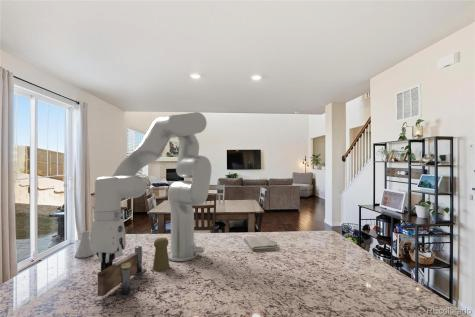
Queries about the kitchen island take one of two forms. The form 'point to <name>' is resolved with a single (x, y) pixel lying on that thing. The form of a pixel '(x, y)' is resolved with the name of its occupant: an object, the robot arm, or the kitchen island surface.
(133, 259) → the brown wooden plank
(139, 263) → the grey upright posts
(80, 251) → the flask
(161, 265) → the olive rounded lobed piece
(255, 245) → the washcloth
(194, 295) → the kitchen island surface
